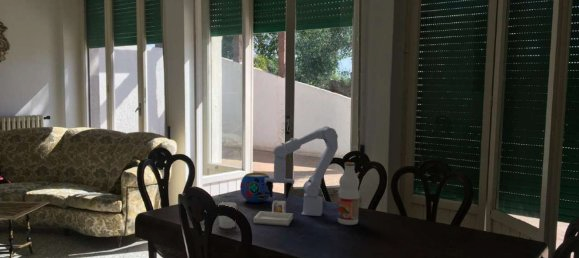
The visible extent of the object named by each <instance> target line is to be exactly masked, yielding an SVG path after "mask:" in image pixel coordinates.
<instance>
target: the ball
mask: <svg viewBox="0 0 579 258" xmlns="http://www.w3.org/2000/svg"><path fill="white" fill-rule="evenodd" d="M276 212H277V213H281V212H282V209H281V208H280V207H277V208H276Z"/></svg>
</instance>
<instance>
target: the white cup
mask: <svg viewBox="0 0 579 258" xmlns="http://www.w3.org/2000/svg"><path fill="white" fill-rule="evenodd" d="M219 205H225V206H229V207H233V208H235V209H236V210H237V203H236V202H232V201H226V202H225V201H222V202H220V203H218V206H219ZM218 218H219V219H218V220H219V228H221V229H232V227H233V228H235V227H234V226H236V221H235V222H234V221H233V220H232V219H230V218H228V217H226V216H219V215H218Z"/></svg>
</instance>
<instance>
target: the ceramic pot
mask: <svg viewBox="0 0 579 258" xmlns="http://www.w3.org/2000/svg"><path fill="white" fill-rule="evenodd" d="M265 178H271V177H270V176H269V175H268V174H267V173H263V172H250V173H246V174H245V175H243V177H242V179H241V181H240V185H239V187H240V189H239V190H240V194H241V195H242V198H244V200H246V201H248V202H251V203H262V202H265V201H266V200H268V199H269V198H271V197H270V193H269V189H268V187H267V185H266V184H267V182H265Z"/></svg>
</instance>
